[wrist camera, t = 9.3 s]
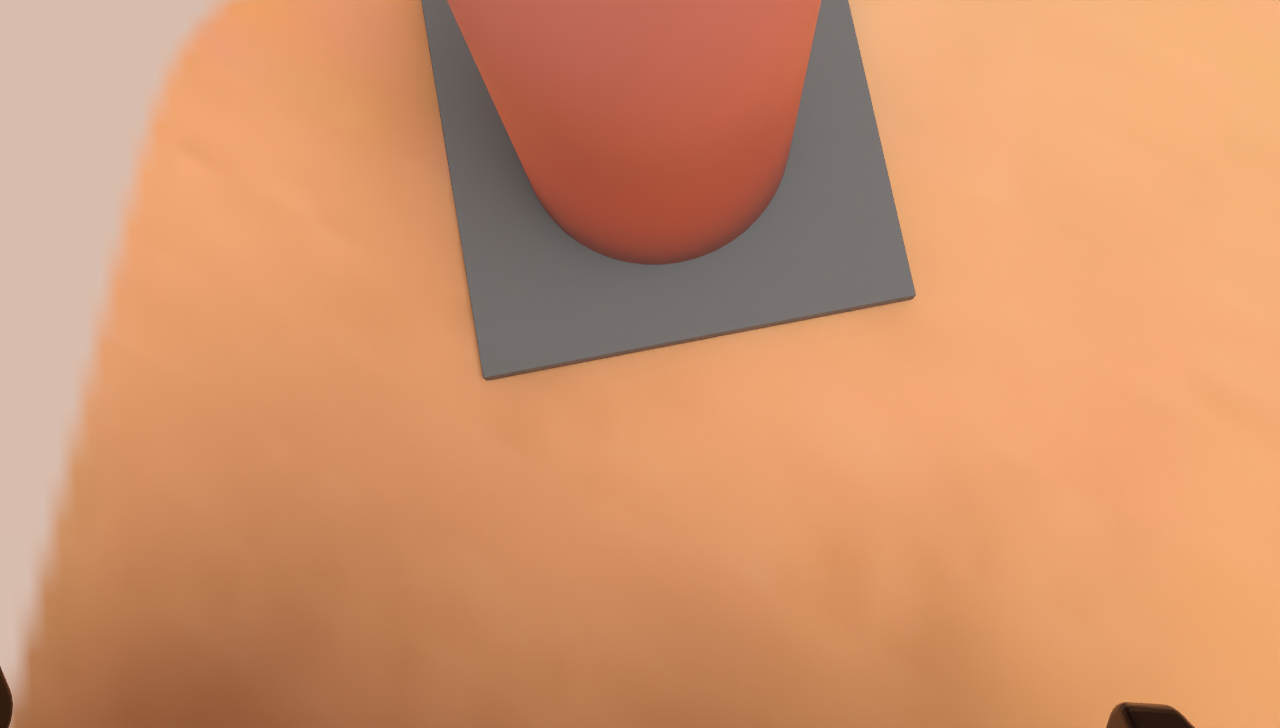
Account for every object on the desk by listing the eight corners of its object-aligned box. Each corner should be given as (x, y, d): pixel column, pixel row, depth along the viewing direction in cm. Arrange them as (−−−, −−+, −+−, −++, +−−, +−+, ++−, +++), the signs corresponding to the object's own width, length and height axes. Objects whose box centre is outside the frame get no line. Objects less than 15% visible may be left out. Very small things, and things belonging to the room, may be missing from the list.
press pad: (912, 298, 19) (915, 295, 19) (486, 380, 19) (483, 377, 19) (821, -94, 20) (824, -104, 20) (421, -15, 20) (417, -24, 20)
